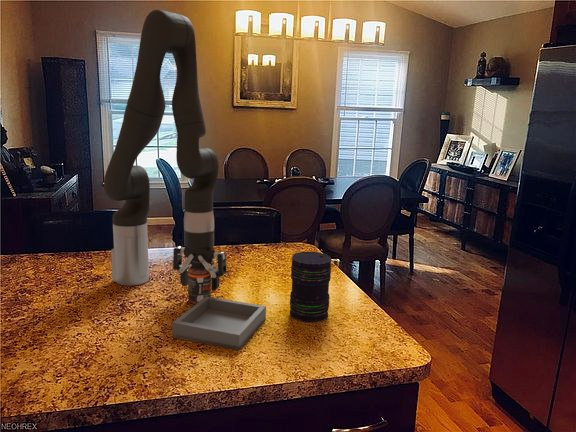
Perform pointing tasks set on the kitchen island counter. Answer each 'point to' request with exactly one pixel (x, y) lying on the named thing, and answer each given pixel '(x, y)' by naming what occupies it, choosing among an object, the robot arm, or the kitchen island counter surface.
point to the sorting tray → (219, 322)
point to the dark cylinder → (310, 286)
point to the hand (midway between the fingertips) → (199, 287)
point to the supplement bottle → (198, 282)
